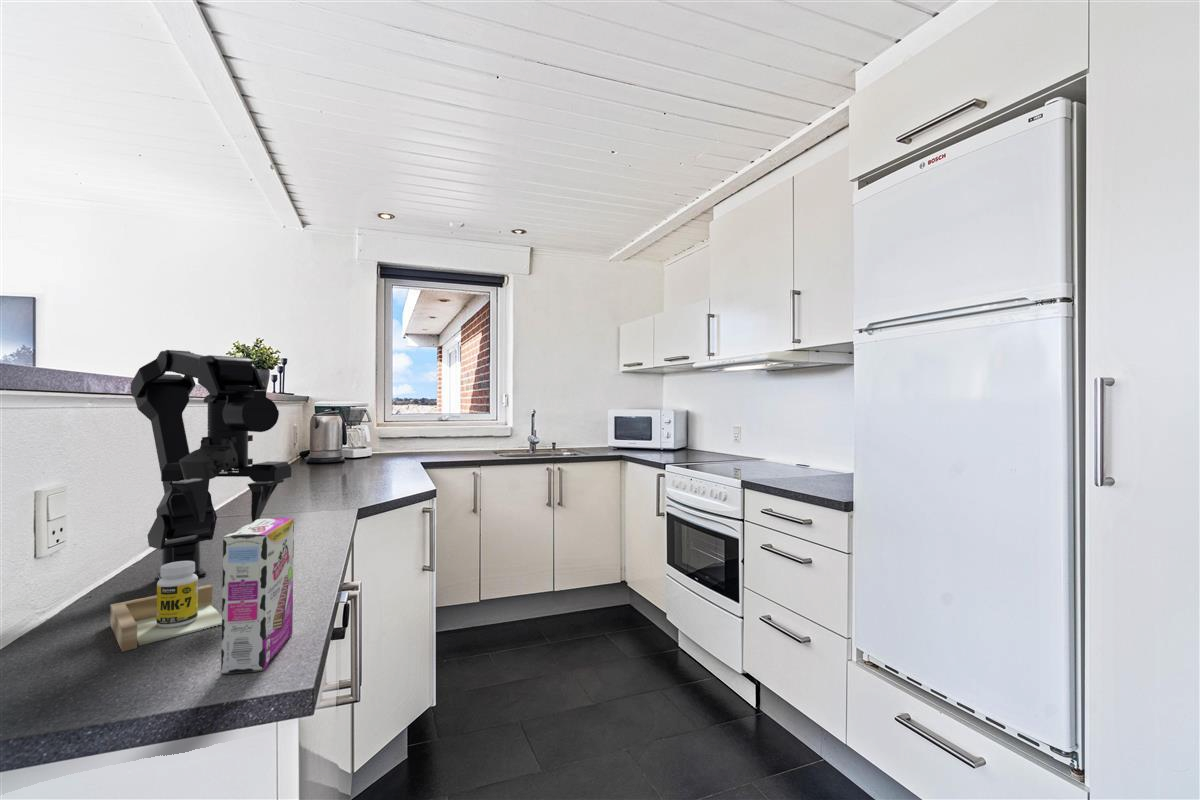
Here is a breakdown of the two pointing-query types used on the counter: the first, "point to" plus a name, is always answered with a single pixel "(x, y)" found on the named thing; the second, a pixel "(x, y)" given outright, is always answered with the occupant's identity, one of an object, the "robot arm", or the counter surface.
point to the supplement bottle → (177, 594)
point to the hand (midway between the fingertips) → (227, 522)
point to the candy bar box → (256, 594)
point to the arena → (140, 617)
